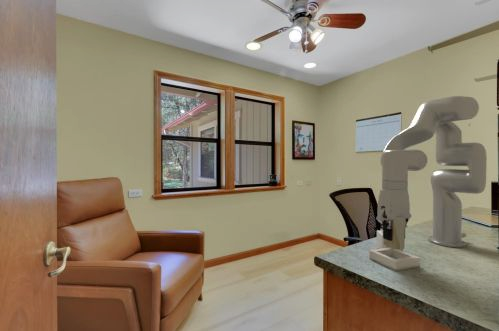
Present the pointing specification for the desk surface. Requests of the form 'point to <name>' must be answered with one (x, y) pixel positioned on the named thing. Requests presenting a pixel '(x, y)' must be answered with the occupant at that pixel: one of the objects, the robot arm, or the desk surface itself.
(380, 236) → the medicine bottle
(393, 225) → the box
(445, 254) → the desk surface
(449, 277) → the desk surface
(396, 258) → the shallow square tray
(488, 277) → the desk surface
